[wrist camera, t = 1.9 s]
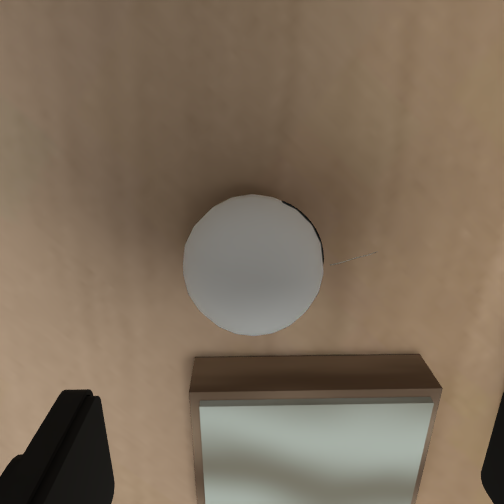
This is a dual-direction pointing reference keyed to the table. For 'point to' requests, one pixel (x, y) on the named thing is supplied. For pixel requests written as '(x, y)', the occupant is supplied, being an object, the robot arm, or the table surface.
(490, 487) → the robot arm
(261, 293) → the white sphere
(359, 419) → the riser
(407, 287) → the table surface
